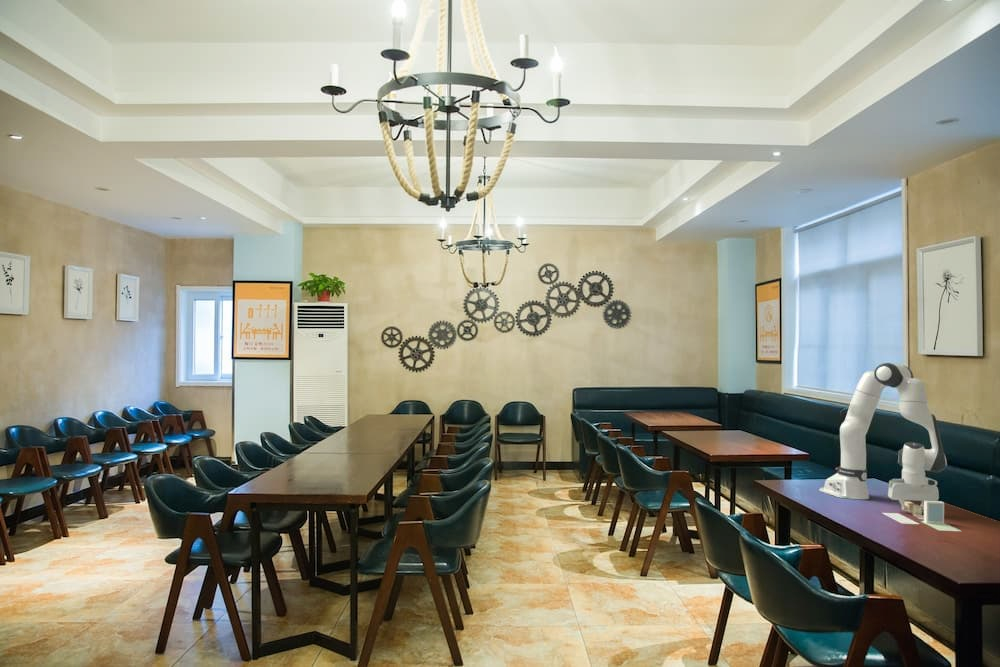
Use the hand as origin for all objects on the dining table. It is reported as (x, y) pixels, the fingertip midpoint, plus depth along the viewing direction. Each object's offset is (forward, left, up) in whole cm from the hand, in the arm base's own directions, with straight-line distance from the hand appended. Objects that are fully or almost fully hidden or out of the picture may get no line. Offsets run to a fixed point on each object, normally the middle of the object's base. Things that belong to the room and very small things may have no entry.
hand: (912, 510), depth 280 cm
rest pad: (+4, -15, -2) cm, 16 cm away
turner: (+3, -1, -2) cm, 3 cm away
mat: (+17, -10, -2) cm, 20 cm away
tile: (+13, -8, -1) cm, 15 cm away
